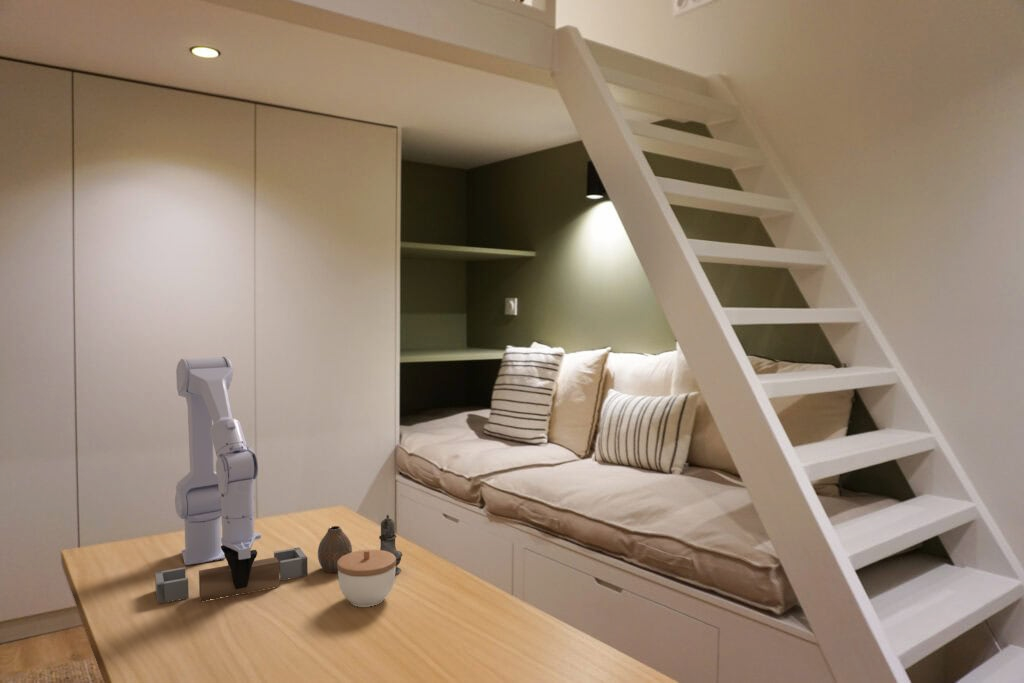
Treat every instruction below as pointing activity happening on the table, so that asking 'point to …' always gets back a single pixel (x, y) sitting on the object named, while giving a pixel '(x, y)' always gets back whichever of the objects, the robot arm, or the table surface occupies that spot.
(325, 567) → the vase
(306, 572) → the cap far
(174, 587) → the gray u-shaped clamp
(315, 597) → the table surface
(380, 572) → the lidded jar
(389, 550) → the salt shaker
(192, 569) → the table surface
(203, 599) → the slat
